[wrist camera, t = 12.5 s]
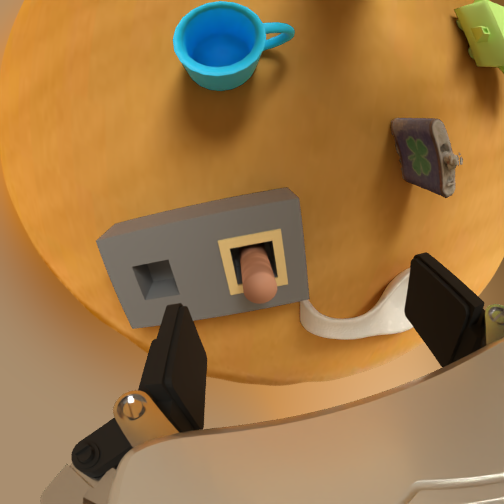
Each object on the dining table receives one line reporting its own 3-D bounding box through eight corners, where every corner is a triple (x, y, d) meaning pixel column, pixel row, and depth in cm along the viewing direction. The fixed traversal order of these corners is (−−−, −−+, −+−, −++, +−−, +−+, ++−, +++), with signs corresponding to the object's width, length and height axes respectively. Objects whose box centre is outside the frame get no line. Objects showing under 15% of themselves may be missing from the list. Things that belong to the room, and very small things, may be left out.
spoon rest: (434, 251, 38) (461, 270, 32) (422, 310, 43) (442, 333, 37) (297, 274, 38) (311, 303, 31) (299, 338, 42) (309, 371, 36)
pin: (261, 232, 33) (274, 271, 24) (265, 255, 34) (279, 300, 25) (236, 237, 33) (240, 277, 24) (241, 260, 34) (246, 306, 25)
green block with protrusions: (451, -10, 19) (491, -24, 9) (499, 41, 22) (539, 38, 12) (441, 39, 24) (491, 27, 14) (492, 93, 27) (538, 96, 17)
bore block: (287, 187, 33) (299, 198, 27) (298, 275, 38) (309, 300, 32) (114, 223, 33) (94, 241, 27) (143, 302, 37) (131, 330, 32)
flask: (387, 119, 30) (440, 120, 20) (403, 115, 30) (457, 116, 20) (403, 185, 34) (454, 205, 24) (418, 179, 33) (469, 198, 24)
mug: (197, 100, 28) (187, 89, 20) (177, 43, 25) (162, 18, 17) (297, 72, 27) (318, 54, 20) (275, 16, 24) (288, -13, 17)
